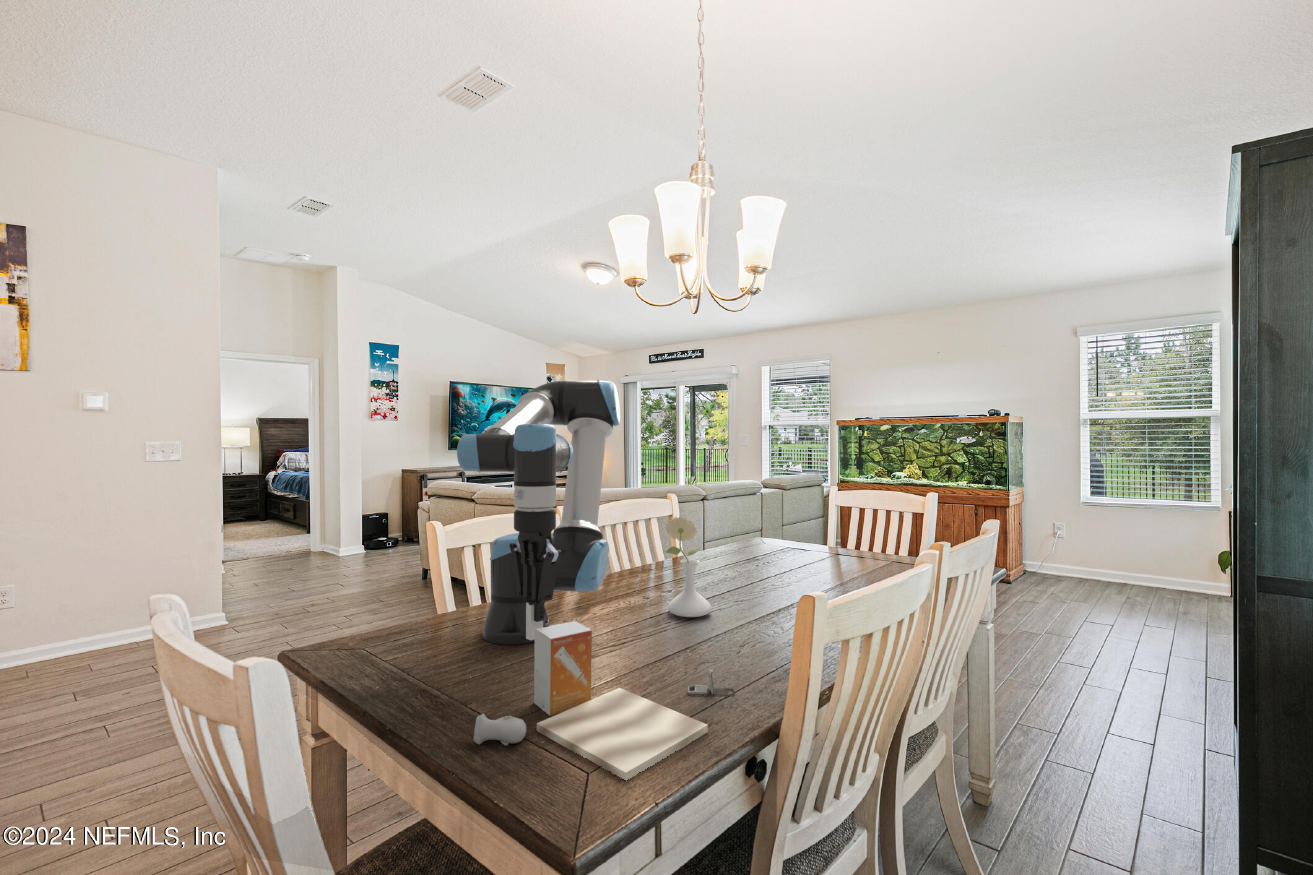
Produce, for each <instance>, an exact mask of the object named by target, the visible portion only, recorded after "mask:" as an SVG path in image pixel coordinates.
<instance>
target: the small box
mask: <svg viewBox="0 0 1313 875" xmlns="http://www.w3.org/2000/svg"><path fill="white" fill-rule="evenodd" d="M592 637H593V630H592V629H590V628H589V627H587V626H585V625H584V624H582V623H580V622H578V621H576V620H573V621H570V622H563V623H556V624H552V625H550V626H549V627H544V628H539V629H535V641H534V669H533V671H534V672H533V674H534V675H533V676H534V677H533V678H534V679H533V686H534V688H533V689H534V690H533V692H534V693H533V694H534V695H533V698H534V700H533V702H534V704H535V705H536V706H537V707H539V708H540V709H541V710H542V711H543V712H545V713H546V715H548V716H550V717H553V716H555V715H557V714H560V713H562V712H564V711H566V710H569V709H571V708H573V707H576V706H578V705H580V704H583V703H585V702H587V701H590V700H592V658H593V657H592V651H593V650H592V649H593V648H592V647H593V644H592V643H593V642H592V641H593V640H592V639H593V638H592Z"/></svg>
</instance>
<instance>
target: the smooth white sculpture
mask: <svg viewBox="0 0 1313 875" xmlns="http://www.w3.org/2000/svg"><path fill="white" fill-rule="evenodd" d="M526 733H527V725H526V723H525V721H524V720H523V719H522V718H519V717H515V716H512V715H505V716H503V717H499V718H497V719H490V718H488V717H487V716H486V714H485V713H482V714H480V715H478V716H477V717H476V718H475V726H474V732H473V741H474V742H475V744H477V745H478V744H479V745H478V746H480V745H481V744H482V743H484V742H485V741H489V740H495V741H499V742H500V743H502V744H501V745H503V744H504V745H503V746H509V745H510V744H518V743H520V742H521V741H522V740H523V739H524V738H525V737H526ZM509 743H510V744H509ZM508 744H509V745H508Z"/></svg>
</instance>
